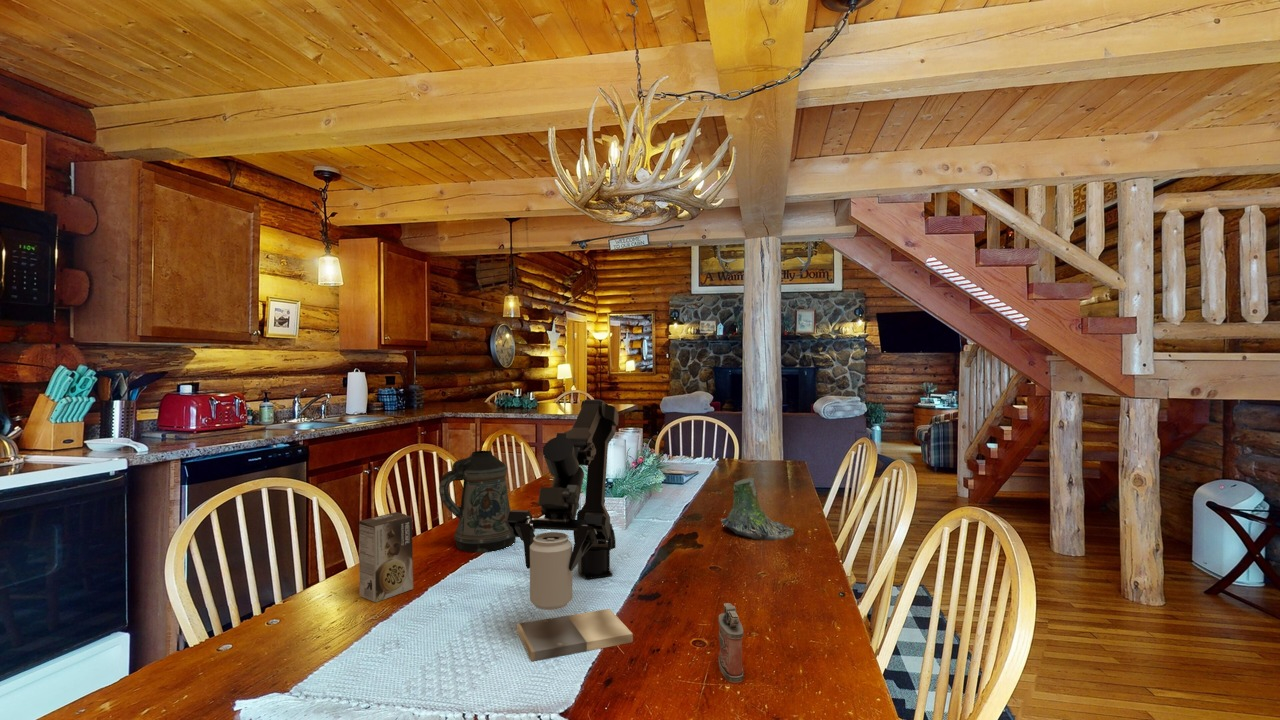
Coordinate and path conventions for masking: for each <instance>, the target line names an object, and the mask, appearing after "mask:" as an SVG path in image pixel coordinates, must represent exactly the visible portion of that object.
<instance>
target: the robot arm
mask: <svg viewBox="0 0 1280 720" xmlns="http://www.w3.org/2000/svg"><path fill="white" fill-rule="evenodd" d="M618 425H619V411H618V410H617V407H615V406H613V405H610V404H608V403H606V402H605V400H602V399H589V398H588V399H584V400H581V404H580V411H579V412H578V415H577V417H576V420H575V421H574V423H573V426H572V428H571V429H569V430H567V431H565V432H557V433H556V436H555V437H553V438H551V439H549V440H548V441H547V442H545V444H544V445H543V447H542V455H543V458H544V459H545V464H546V465H547V469H548V470H549V474H550V475H551V476H553V479H552V484H551V486H541V487H540V488H539V492H538V493H539V494H538V500H537V506H538V507H540V513H541V515H544V517H543V518H542V517H541V518H540V517H533V515H532V514H531V511H530V509H529V510H527V509H526V510H525V509H511V511H510V512H509V513H508V514H507V517H506V520H505V523H506V525H507V527H508V529H509V531H510V532H511V534H512V536H514V537H516V538H519V539H520V541H522V542H523V548H524V549H523V551H524V559H525V567H526V569H528V570H530V545H531V544H532V543H533V542H534V540H533V538H534V537H535V536H536V535H535V531H536V530H555V531H572V532H573V541H574V544H573V545H574V546H573V547H572V555H571V559H570V565H569V569H570V571H572V572H573V571H574V569H575V568H576V566H577V571H578V573H580V574H581V576H582V577H583V578H584V579H586V580H590V579H591V580H592V579H597V578H604V577H609V576H610V577H611V576H613V572H612V571H611V567H610V565H611V563H610V562H611V561H610V559H611V557H610V555H611V554H610V551H612V550H613V549H616V545H617V543H616V535H615V530H614V528H613V525H612V523H611V516H610V514H609V512H608V510H607V508H606V506H605V500H606V499H605V498H606V484H607V483H606V482H607V467H608V451H609V450H608V449H609V448H608V447H609V443H610V442H611V440H612V439H613V437H615V434H616V430H617V429H616V428H617V427H618ZM581 466H584V467H585V466H587V472H586V473H587V474H586V487H585V488H586V489H585V500H584V501H585V502H584V504H583V505H582V508H580V497H581V492H582V486H583V484H584V477H585V472H584V469H583V468H582V467H581Z"/></svg>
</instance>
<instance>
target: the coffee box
mask: <svg viewBox="0 0 1280 720" xmlns="http://www.w3.org/2000/svg"><path fill="white" fill-rule="evenodd" d="M358 544H359V547H358V557H359V558H358V561H359V562H358V563H359V564H358V565H359V566H358V569H359V573H358V575H359V577H358V578H359V597H360V598H363V599H366V600H369V601H370V602H374V603H378V602H382V601H384V600H386V599H390V598H392V597H395V596H398V595H401V594H402V593H406V592H409V591H411V590H413V589H414V563H413V562H414V557H413V556H414V555H413V552H414V551H413V550H414V549H413V516H412V515H407V514H405V513H401V512H397V511H395V512H391V513H387V514H386V513H385V514H382V515H379V516H374V517H370V518H367V519H362V520H359V521H358Z"/></svg>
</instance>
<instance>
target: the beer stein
mask: <svg viewBox="0 0 1280 720" xmlns="http://www.w3.org/2000/svg"><path fill="white" fill-rule="evenodd" d="M507 473H508V466H507V465H506V464H505V462H503V461H502V460H501V459H499V458H498V457H496V456H494V455H493V452H492V450H491V451H490V450H475V451H473V452H472V453H471V455H469V456H468V457H466V458H461V459H458V460H456V461H455V462H453V465H452V470H449V471H447V472H446V473H444V474H443V475H442V476H441V478H440V480H441V481H440V482H439V488H438V490H439V491H438V492H439V496H440V500H441V501H442V503H443V504H444V506H445V508H447V510H448V511H449V512H450V513H452V515H453V516H455V517H456V518H458V524H457V526H456V529H455V532H454V541H455V545H456V548H457V550H459V551H463V552H466V553H474V554H475V553H477V554H478V553H479V554H480V553H481V554H482V553H492V551H494V552H498V551H497V550H499V551H502V550H501V549H503V550H505V549H504V548H506V547H509V546H511V545H512V544H513V543H515V544H516V538H517V537H514V536H512V534H511V532H510V531H509V529H508V527H507V525H506V523H505V520H506V517H507V514H508V513H509V512H510V511H511V510H512V509H511V506H510V501H509V493H508V492H509V491H508V488H507V481H506V475H507ZM455 481H457V482H458V481H463V484H462V485H463V486H462V494H461V500H460V506H458V505H457V503H456V502H454V500H453V498H452V496H451V495H450V493H449V487H450V484H451V483H452V482H455ZM512 546H513V545H512ZM512 546H511V547H512ZM509 548H510V547H509ZM506 549H507V548H506Z"/></svg>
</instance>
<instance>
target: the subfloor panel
mask: <svg viewBox="0 0 1280 720" xmlns="http://www.w3.org/2000/svg"><path fill="white" fill-rule="evenodd" d="M516 627H517V628H516V630H517V631H516V633H517V634H518V637H519V636H520V637H519V638H520V640H522V641H521V643H522V642H523V643H522V645H523V644H524V645H523V646H525V647H524V648H526V649H525V651H526V650H527V651H526V653H527V655H528V656H529V659H530V660H531V662H535V661H536V662H537V661H541V660H546V659H551V658H558V657H563V656H567V655H572V654H577V653H578V654H579V653H582V652H588V651H593V650H598V649H599V650H600V649H603V648H609V647H616V646H620V645H626V644H630V643H631V644H632V643H633V641H634V638H633V637H634V634H633V632H632V631H631V630H630V629H629V628H628V627H627V626H626V625H625V623H623V621H621V619H620V618H619V617H618V616H617V615H616V614H615V612H613V611H612V609H611V608H605V609H599V610H594V611H589V612H588V611H587V612H580V613H575V614H569V615H564V616H563V615H562V616H557V617H551V618H550V617H549V618H544V619H538V620H532V621H525V622H520V623H517V624H516Z"/></svg>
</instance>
